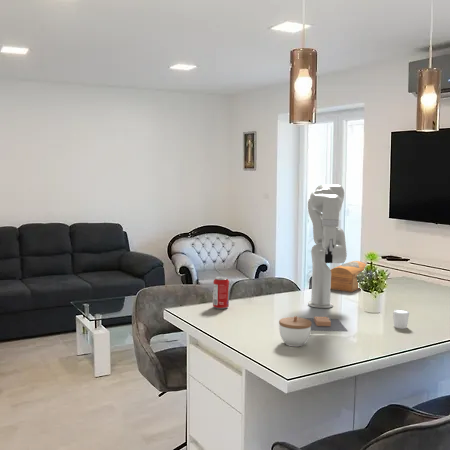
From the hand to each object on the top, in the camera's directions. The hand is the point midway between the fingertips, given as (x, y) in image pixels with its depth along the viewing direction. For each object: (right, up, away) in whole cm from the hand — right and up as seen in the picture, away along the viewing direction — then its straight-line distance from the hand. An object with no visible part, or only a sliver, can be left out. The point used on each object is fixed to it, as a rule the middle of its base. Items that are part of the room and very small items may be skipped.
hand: (328, 262), depth 256 cm
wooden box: (+26, -20, +79) cm, 86 cm away
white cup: (+30, -28, -8) cm, 42 cm away
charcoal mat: (-5, -27, -10) cm, 29 cm away
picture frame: (-5, -25, -5) cm, 26 cm away
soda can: (-50, -24, +19) cm, 58 cm away
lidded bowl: (-20, -30, -37) cm, 51 cm away
